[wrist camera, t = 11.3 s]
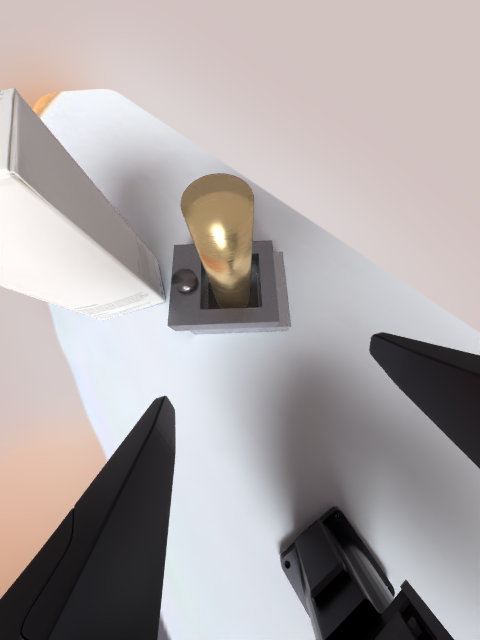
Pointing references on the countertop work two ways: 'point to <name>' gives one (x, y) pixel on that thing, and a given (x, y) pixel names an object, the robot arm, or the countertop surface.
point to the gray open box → (195, 316)
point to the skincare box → (64, 227)
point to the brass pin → (222, 234)
